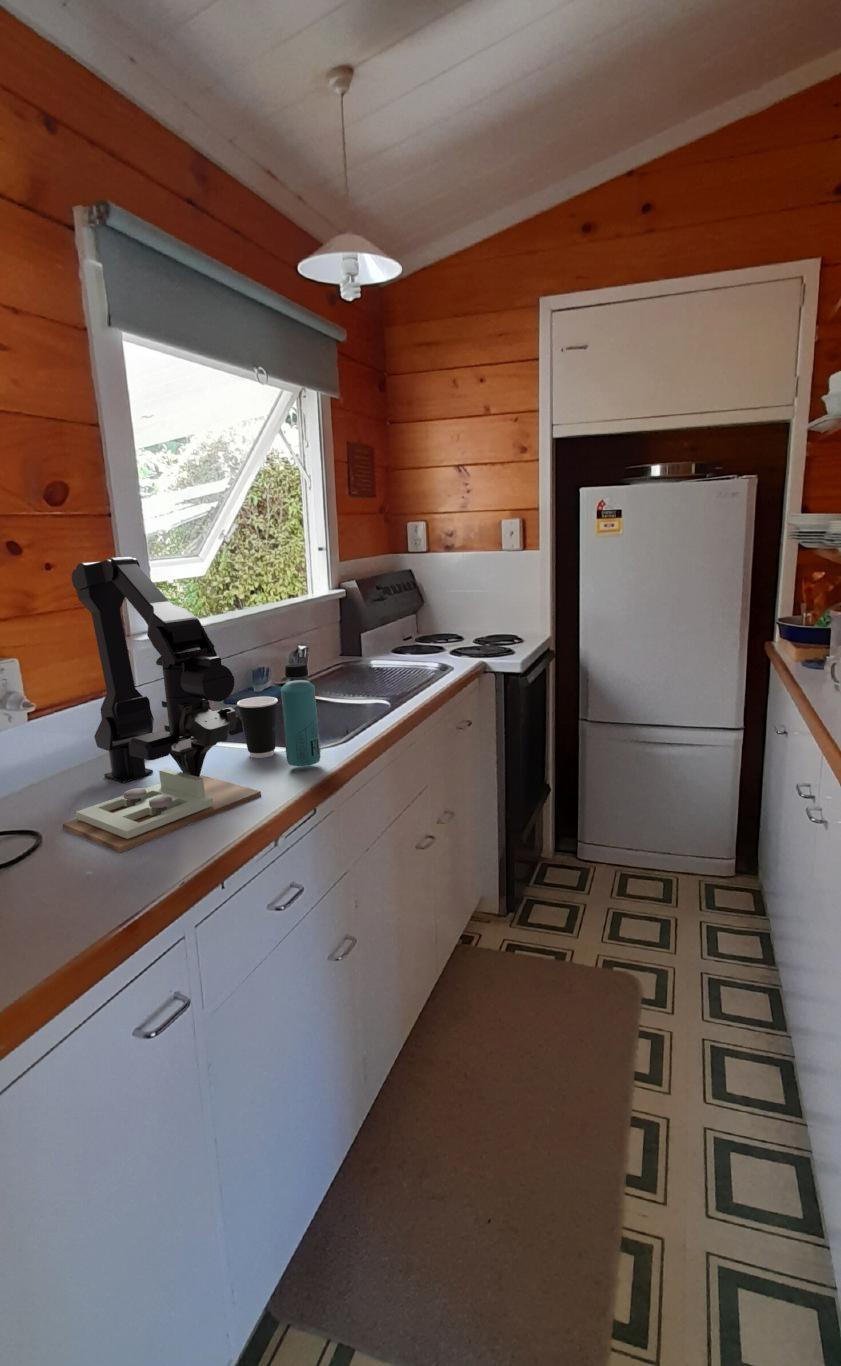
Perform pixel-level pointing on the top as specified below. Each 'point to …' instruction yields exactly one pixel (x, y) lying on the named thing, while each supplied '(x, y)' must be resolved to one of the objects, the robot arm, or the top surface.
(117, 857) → the top surface
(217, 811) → the walnut board
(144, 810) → the sage panel
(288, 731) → the beverage bottle
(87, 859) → the top surface
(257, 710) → the dixie cup
